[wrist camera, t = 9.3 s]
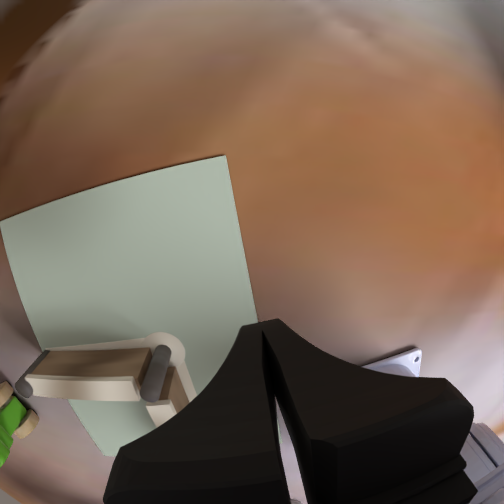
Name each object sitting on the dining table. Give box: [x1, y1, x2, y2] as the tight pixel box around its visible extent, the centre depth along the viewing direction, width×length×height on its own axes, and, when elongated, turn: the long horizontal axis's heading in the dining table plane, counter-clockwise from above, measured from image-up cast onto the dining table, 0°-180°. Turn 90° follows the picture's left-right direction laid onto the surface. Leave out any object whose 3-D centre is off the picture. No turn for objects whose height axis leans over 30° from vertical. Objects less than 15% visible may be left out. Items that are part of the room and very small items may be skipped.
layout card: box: [0, 155, 282, 456], centre depth 20 cm, size 24×18×1 cm
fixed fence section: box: [139, 345, 190, 427], centre depth 19 cm, size 12×2×5 cm, turn 10°
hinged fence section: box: [15, 347, 152, 401], centre depth 18 cm, size 10×2×5 cm, turn 97°
